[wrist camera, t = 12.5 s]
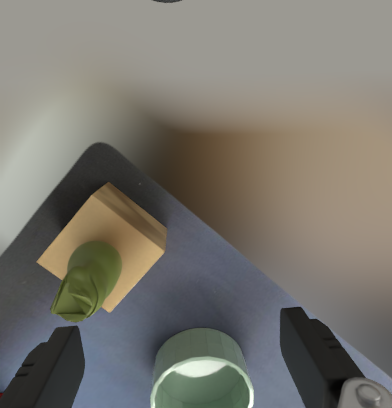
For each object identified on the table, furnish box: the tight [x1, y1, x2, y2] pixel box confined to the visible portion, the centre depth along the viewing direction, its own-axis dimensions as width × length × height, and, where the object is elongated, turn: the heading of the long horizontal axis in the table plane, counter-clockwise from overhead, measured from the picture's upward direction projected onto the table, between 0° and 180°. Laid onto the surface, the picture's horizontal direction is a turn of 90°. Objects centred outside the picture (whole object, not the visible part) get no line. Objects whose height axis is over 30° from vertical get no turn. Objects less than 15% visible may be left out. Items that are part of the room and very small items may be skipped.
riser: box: [37, 182, 167, 313], centre depth 38 cm, size 10×10×8 cm
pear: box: [50, 241, 122, 322], centre depth 29 cm, size 6×5×10 cm
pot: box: [150, 328, 254, 408], centre depth 45 cm, size 14×14×6 cm
